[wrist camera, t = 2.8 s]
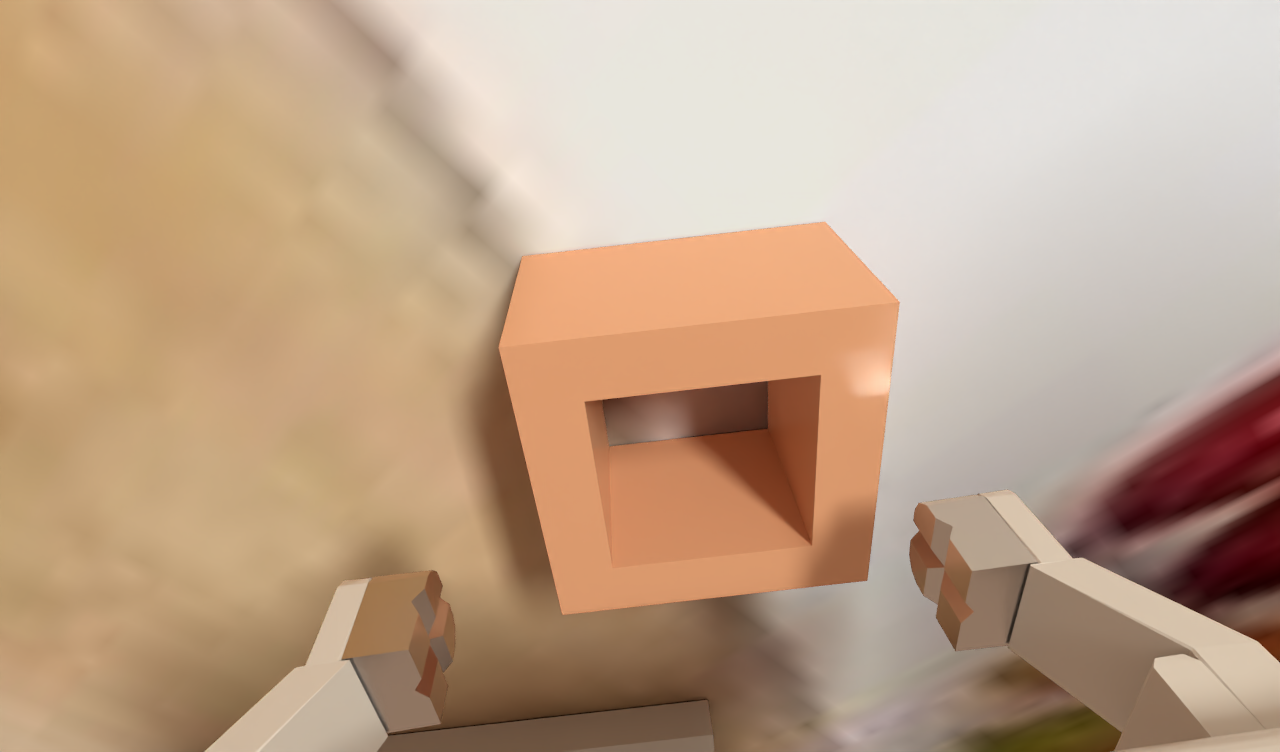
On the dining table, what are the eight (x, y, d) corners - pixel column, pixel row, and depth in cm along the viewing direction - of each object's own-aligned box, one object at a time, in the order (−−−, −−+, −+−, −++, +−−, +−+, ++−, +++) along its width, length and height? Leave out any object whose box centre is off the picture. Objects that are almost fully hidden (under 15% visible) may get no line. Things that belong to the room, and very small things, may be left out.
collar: (825, 221, 14) (899, 301, 11) (813, 460, 17) (866, 580, 14) (522, 256, 14) (498, 347, 11) (568, 488, 17) (562, 614, 14)
